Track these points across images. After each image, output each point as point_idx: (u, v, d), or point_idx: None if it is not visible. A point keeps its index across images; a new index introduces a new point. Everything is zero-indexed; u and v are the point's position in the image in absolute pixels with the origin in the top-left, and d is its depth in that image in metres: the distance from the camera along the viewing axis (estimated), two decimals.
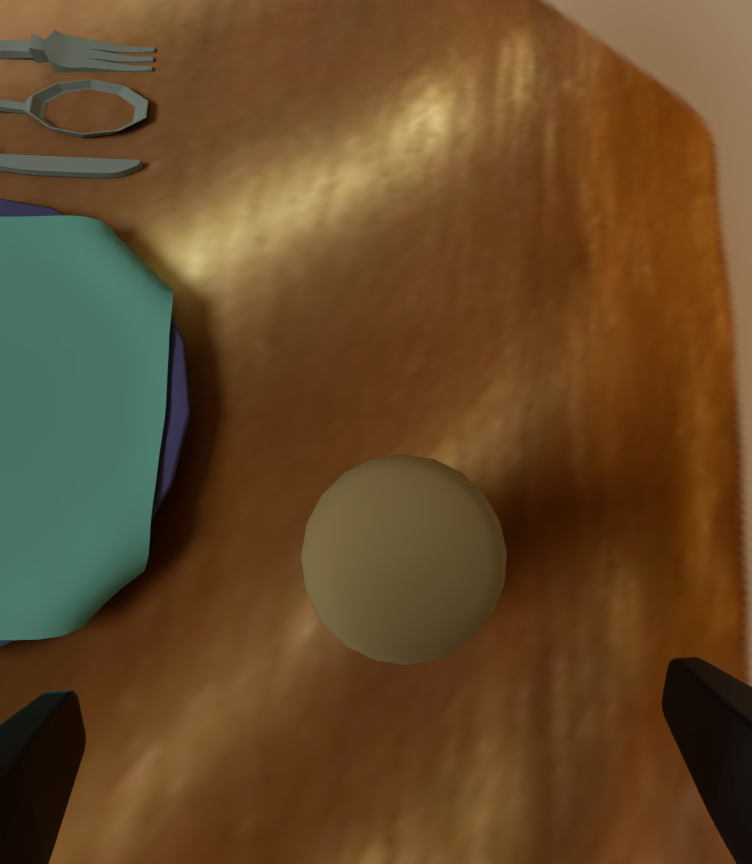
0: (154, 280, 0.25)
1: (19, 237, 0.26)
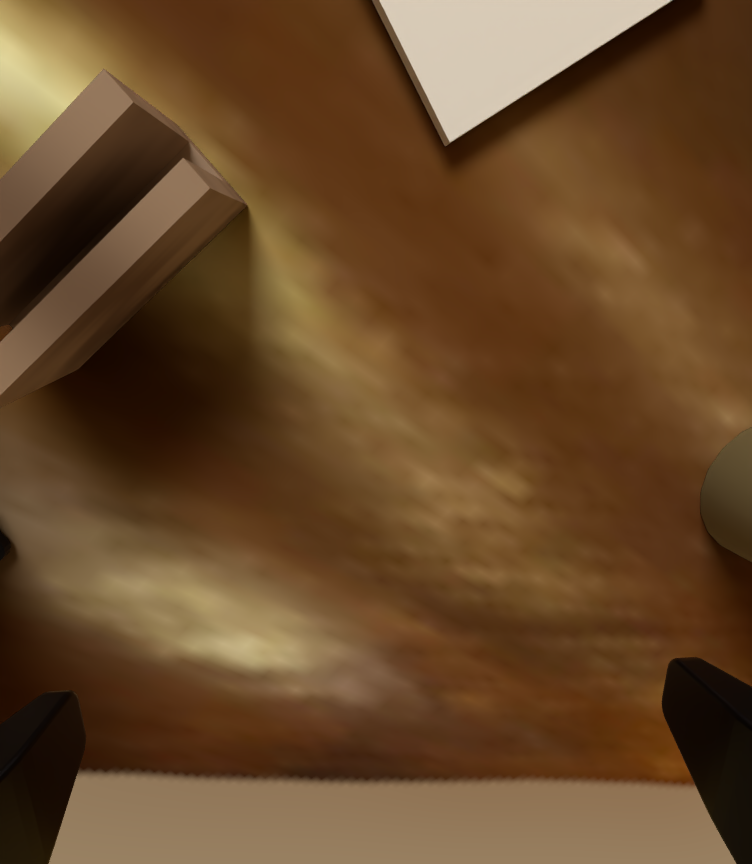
0: None
1: None
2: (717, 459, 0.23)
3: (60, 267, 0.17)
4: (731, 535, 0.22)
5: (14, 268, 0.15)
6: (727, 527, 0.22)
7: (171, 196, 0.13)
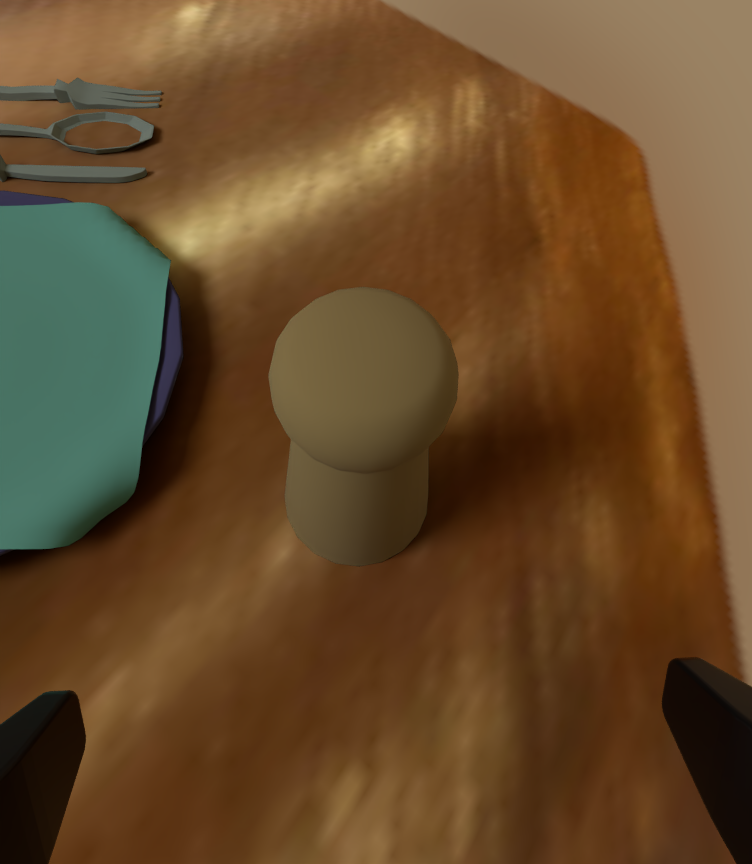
0: (154, 250, 0.28)
1: (34, 222, 0.29)
2: (324, 555, 0.23)
3: None
4: (390, 543, 0.22)
5: None
6: (382, 548, 0.22)
7: None
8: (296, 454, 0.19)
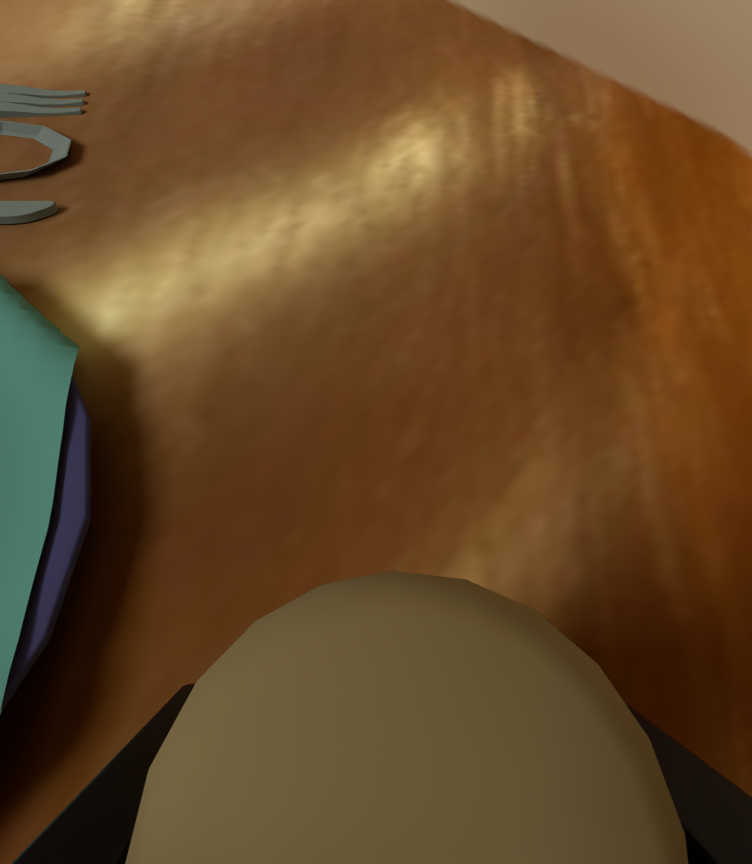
0: (52, 334, 0.18)
1: None
2: None
3: None
4: None
5: None
6: None
7: None
8: None
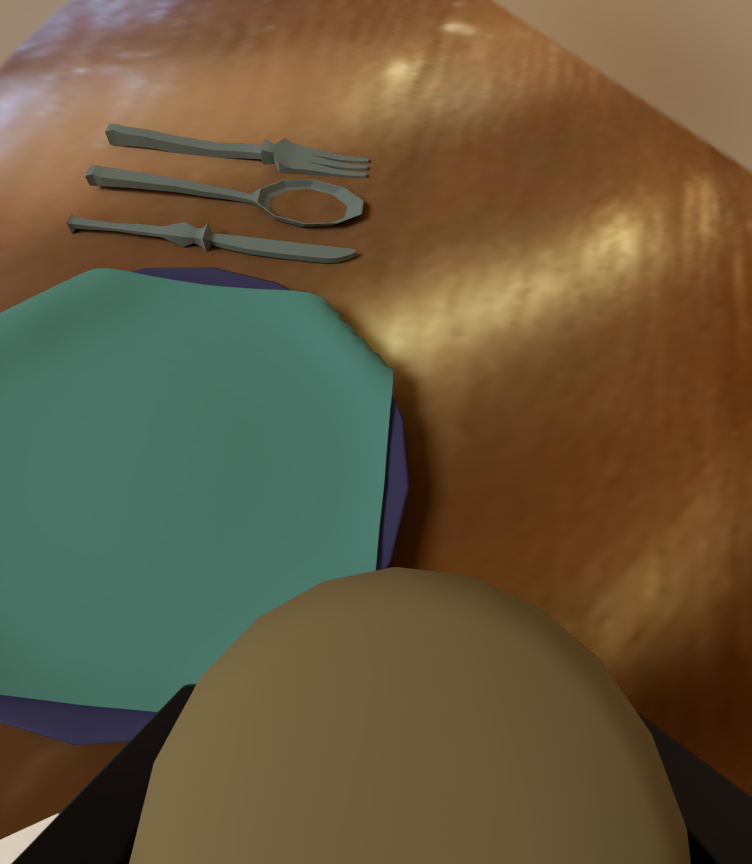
0: (375, 356, 0.25)
1: (245, 307, 0.27)
2: None
3: None
4: None
5: None
6: None
7: None
8: None
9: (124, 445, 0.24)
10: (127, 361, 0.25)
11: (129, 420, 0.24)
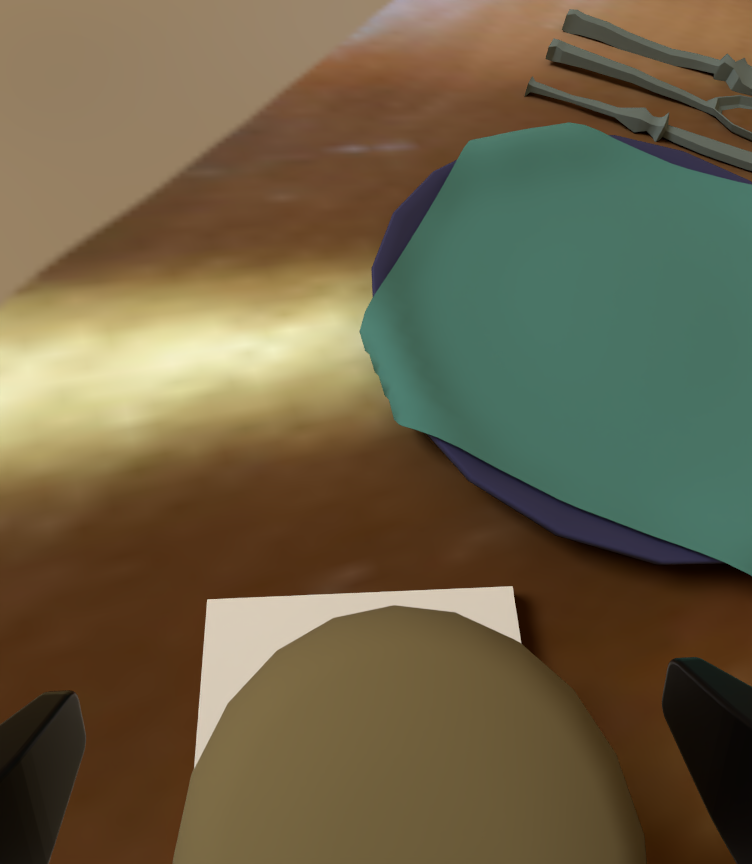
0: None
1: (712, 195, 0.25)
2: None
3: None
4: None
5: None
6: None
7: None
8: None
9: (590, 285, 0.23)
10: (589, 213, 0.25)
11: (594, 264, 0.23)
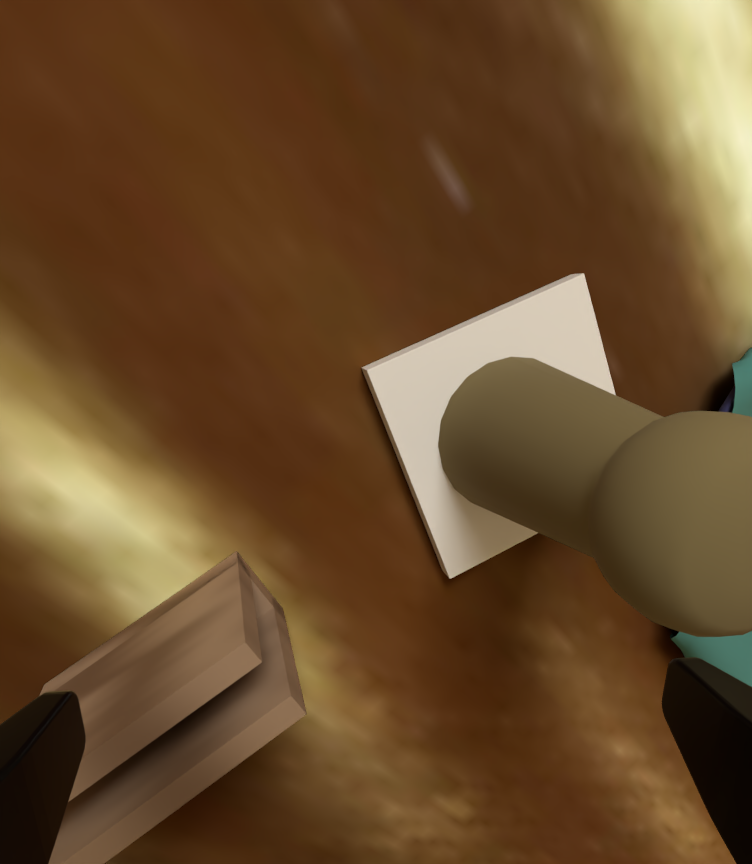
0: None
1: None
2: (441, 432, 0.21)
3: None
4: (480, 502, 0.21)
5: None
6: (473, 496, 0.21)
7: (275, 720, 0.16)
8: (571, 428, 0.16)
9: None
10: None
11: None
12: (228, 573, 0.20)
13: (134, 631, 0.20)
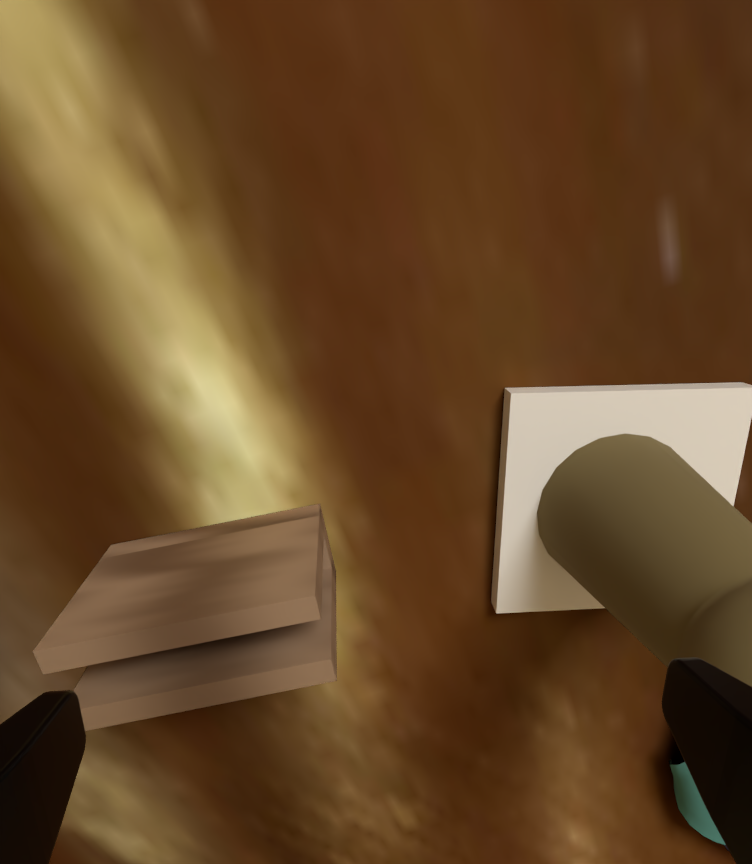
0: None
1: None
2: (552, 478, 0.21)
3: None
4: (561, 559, 0.21)
5: None
6: (556, 551, 0.21)
7: (308, 674, 0.17)
8: (699, 537, 0.16)
9: None
10: None
11: None
12: (308, 521, 0.21)
13: (205, 535, 0.21)
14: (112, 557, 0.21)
